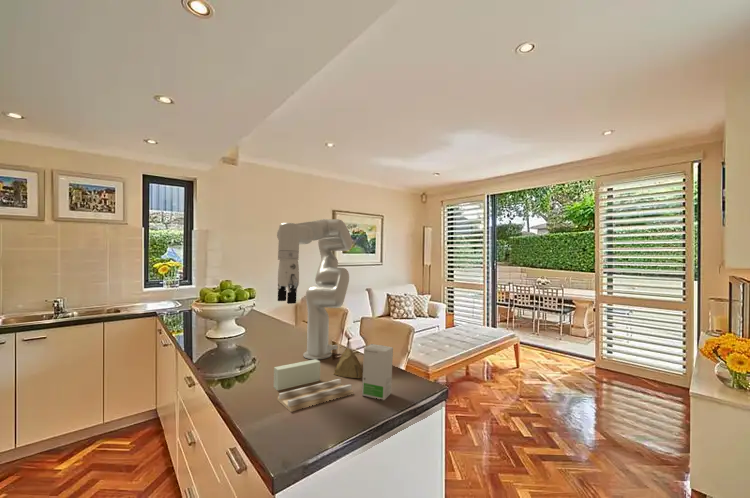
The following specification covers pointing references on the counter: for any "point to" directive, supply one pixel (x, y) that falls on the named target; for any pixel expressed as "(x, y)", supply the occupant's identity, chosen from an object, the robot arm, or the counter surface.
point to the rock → (348, 365)
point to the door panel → (296, 374)
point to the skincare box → (377, 371)
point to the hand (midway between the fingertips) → (286, 302)
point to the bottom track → (314, 394)
